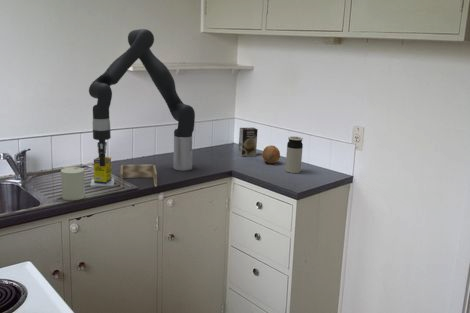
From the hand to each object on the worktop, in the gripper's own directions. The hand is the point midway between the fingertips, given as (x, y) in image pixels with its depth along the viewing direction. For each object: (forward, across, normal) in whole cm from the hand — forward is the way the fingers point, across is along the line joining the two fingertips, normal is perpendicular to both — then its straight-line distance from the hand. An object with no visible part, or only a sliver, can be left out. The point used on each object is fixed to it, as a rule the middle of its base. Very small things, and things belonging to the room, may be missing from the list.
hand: (102, 163), depth 218 cm
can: (+9, -18, +11) cm, 23 cm away
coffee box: (+10, +48, -80) cm, 94 cm away
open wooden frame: (+9, 0, -16) cm, 18 cm away
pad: (+9, 0, 0) cm, 9 cm away
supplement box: (+9, 0, 0) cm, 9 cm away
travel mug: (+10, +13, -96) cm, 97 cm away
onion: (+10, +30, -89) cm, 94 cm away
